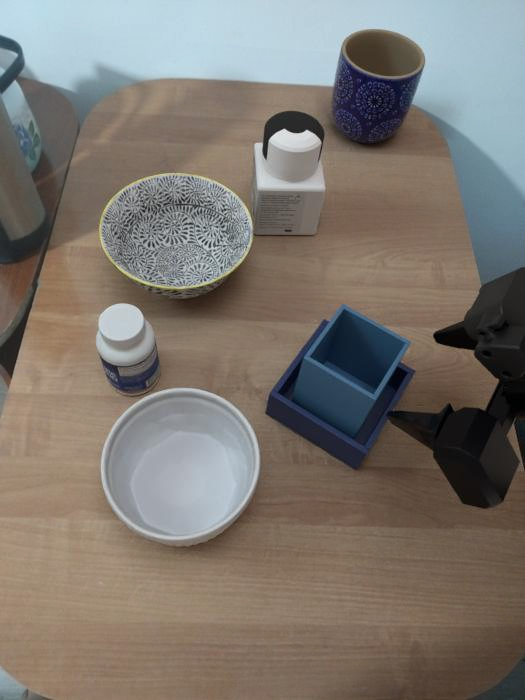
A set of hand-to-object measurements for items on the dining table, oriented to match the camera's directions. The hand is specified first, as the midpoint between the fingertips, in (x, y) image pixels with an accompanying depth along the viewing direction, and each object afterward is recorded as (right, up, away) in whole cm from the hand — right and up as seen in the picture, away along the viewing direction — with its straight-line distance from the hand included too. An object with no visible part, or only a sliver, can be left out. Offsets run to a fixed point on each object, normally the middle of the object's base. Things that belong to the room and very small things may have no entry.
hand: (412, 375), depth 47 cm
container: (-10, +19, +24) cm, 32 cm away
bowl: (-22, +11, +18) cm, 31 cm away
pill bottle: (-26, 0, +11) cm, 28 cm away
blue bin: (-5, -3, +10) cm, 12 cm away
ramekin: (-20, -10, +5) cm, 23 cm away
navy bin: (-5, -3, +11) cm, 12 cm away
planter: (+2, +34, +34) cm, 48 cm away
